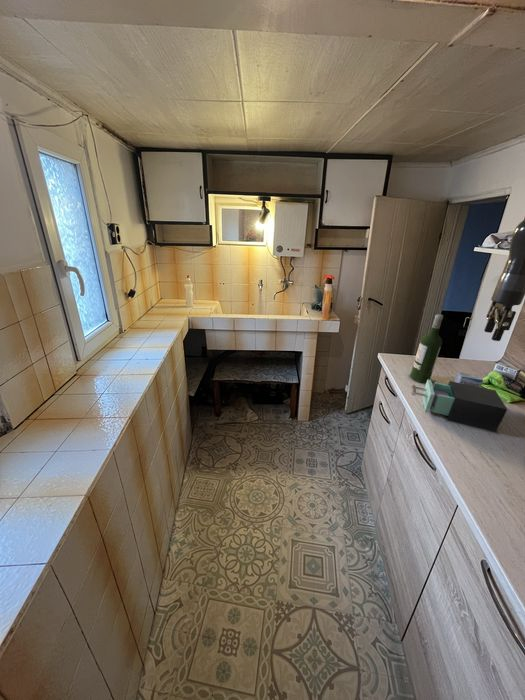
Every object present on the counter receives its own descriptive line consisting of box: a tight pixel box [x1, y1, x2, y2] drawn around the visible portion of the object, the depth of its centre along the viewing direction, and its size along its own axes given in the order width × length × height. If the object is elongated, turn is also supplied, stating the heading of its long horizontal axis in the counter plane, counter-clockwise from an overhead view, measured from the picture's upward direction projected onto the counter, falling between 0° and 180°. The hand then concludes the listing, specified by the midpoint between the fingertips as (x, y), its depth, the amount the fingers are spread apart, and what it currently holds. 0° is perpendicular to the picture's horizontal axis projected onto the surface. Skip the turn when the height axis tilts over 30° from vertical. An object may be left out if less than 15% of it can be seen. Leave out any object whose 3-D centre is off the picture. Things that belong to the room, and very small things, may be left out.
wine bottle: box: [409, 313, 444, 384], centre depth 121 cm, size 8×8×30 cm
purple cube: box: [432, 390, 449, 406], centre depth 105 cm, size 4×4×4 cm
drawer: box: [410, 379, 455, 416], centre depth 105 cm, size 19×11×8 cm, turn 67°
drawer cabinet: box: [445, 380, 508, 433], centre depth 101 cm, size 15×13×10 cm
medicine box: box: [454, 371, 484, 388], centre depth 115 cm, size 8×4×9 cm, turn 72°
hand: (491, 336), depth 94 cm, fingers open, 8 cm apart
